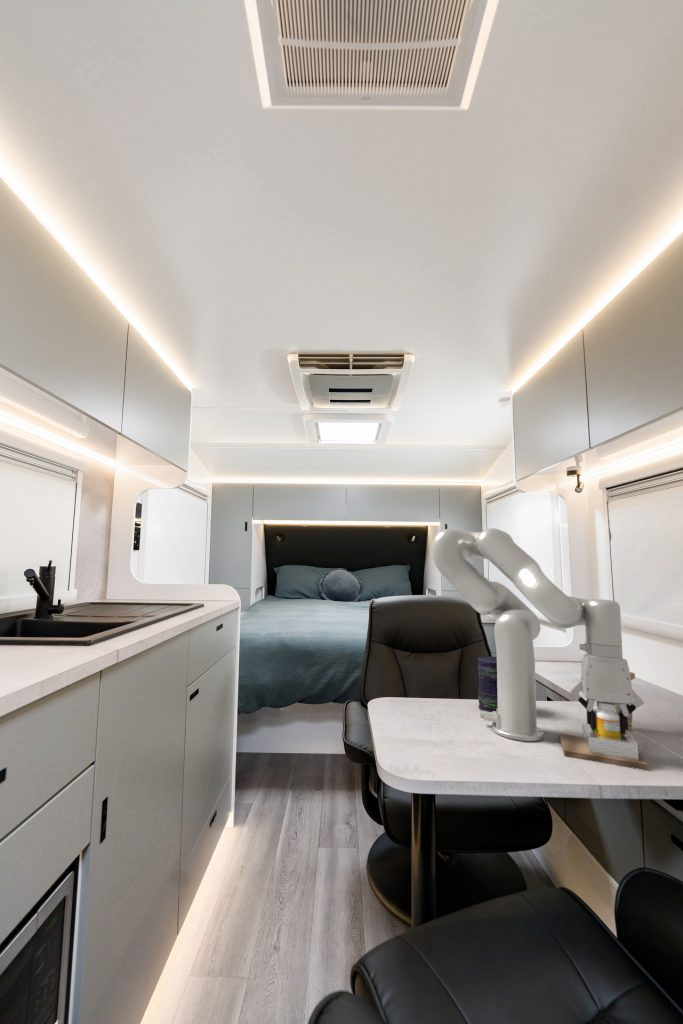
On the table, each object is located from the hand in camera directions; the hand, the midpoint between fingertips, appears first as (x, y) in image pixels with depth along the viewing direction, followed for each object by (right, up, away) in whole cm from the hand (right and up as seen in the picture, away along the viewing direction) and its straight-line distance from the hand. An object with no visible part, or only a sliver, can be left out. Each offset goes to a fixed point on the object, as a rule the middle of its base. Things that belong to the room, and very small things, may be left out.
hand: (607, 729), depth 101 cm
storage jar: (-16, -9, +30) cm, 35 cm away
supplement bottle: (0, -4, -1) cm, 4 cm away
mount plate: (-2, -6, 0) cm, 6 cm away
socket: (0, -4, -1) cm, 4 cm away
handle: (+16, -9, +17) cm, 25 cm away
